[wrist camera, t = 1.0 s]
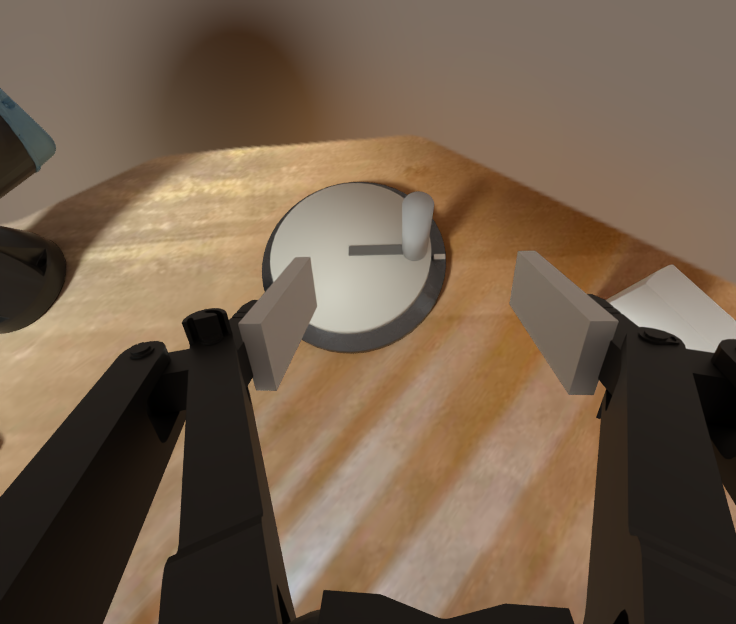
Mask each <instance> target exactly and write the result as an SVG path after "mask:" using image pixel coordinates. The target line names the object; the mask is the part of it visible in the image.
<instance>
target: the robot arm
mask: <svg viewBox="0 0 736 624" xmlns="http://www.w3.org/2000/svg"><path fill="white" fill-rule="evenodd" d="M55 151H56V145H55V143H54V141H53V139H52V138H51V137H50V135H48V133H47V132H46V131H45V130H44V129H42V127H40V126H39V124H37V123H36V122H35V121H34V120H33V119H32V118H31V117H30V116H29V115H28V114H27V113H26V112H25V111H24V110H23V109H22V108H21V107H20V106H19V105H18V104H16V103H15V102H14V101H13V100H12V99H11V98H10V97H9V96H8V95H7V94H6V93H5V92H4V91H3V90H2V89H1V88H0V198H2V197H3V196H5V195H6V194H7V193H8V192H10V191H11V190H13V189H14V188H15V187H17V186H18V185H19V184H21V183H22V182H23V181H25V180H26V179H27V178H29V177H30V176H31V175H33V174H34V173H36V172H38V171H39V170H40V169H41V166H42V165H43V164H44V163H45V162H46V161H47V160H49V159H50V158H51V157H52V156H53V155H54V154H55ZM65 273H66V263H65V258H64V255H63V253H62V251H61V250H60V248H59V247H58V246H57V245H56V244H54V243H53V242H51V241H49V240H47V239H45V238H43V237H41V236H39V235H37V234H35V233H32V232H28V231H23V230H18V229H13V228H8V227H3V226H0V334H2V333H9V332H13V331H16V330H19V329H21V328H24V327H25V326H27V325H29V324H31V323H32V322H34V321H35V320H36V319H38V318H39V317H40V316H41V315H42V314H44V313H45V312H46V311H47V309H48V308H49V307H50V306H51V305H52V303H53V302H54V301H55V299H56V298H57V296H58V294H59V292H60V290H61V288H62V285H63V282H64V279H65ZM510 306H511V307H512V309H513V310H514V312H515V313H516V315H517V316H518V318H519V319H520V321H521V322H522V324H523V326H524V327H525V329H526V330H527V332H528V333H529V335H530V336H531V338H532V339H533V341H534V342H535V344H536V345H537V347H538V348H539V350H540V351H541V353H542V355H543V356H544V358H545V359H546V361H547V362H548V364H549V365H550V367H551V368H552V370H553V371H554V373H555V374H556V376H557V377H558V379H559V380H560V382H561V384H562V385H563V387H564V388H565V390H566V391H567V393H568V394H569V395H594V392H595V390H596V387H597V384H598V381H599V380H600V382H601V383H602V384H603V385H604V387H605V388H606V391H605V394H604V397H603V400H602V403H601V405H600V408H599V411H598V414H597V417H596V418H598V419H601V425H600V438H599V450H598V463H597V475H596V488H595V500H594V513H593V525H592V538H591V550H590V563H589V575H588V588H587V600H586V610H585V617H584V622H583V624H736V532H735V528H734V525H733V521H732V517H731V514H730V510H729V506H728V503H727V499H726V495H725V491H724V488H723V485H724V487H725V488H726V490H727V492H728V493H729V495H730V496H731V498H732V500H733V501H734V503H735V505H736V339H726V340H722V341H721V342H720V343H719V345H718V347H717V349H716V351H715V353H712V352H705V351H699V350H692V349H686V347H685V344H684V343H683V341H682V340H681V339H679V338H678V337H676V336H675V335H673V334H670V333H668V332H665V331H662V330H659V329H655V328H648V327H639V326H637V325H636V324H635V323H634V322H632V321H631V320H630V319H628V318H627V317H626V316H625V315H623V314H621V312H620V311H618V310H617V309H616V308H614V307H613V306H612V305H611V304H610V303H608V302H607V301H606V300H604V299H602V298H600V297H597V296H595V295H593V294H586V293H585V292H584V291H582V290H581V289H580V288H579V287H578V286H576V285H575V284H574V283H573V282H572V281H571V280H569V279H568V278H567V277H566V276H565V275H563V274H562V273H561V272H560V271H559V270H558V269H556V268H555V267H554V266H553V265H552V264H550V263H549V262H548V261H547V260H546V259H544V258H543V257H542V256H541V255H540V254H539V253H537V252H536V251H518V254H517V260H516V266H515V273H514V279H513V285H512V291H511V298H510ZM316 308H317V301H316V294H315V287H314V280H313V273H312V265H311V258H310V257H295V258H294V259H293V260H292V262H291V263H290V264H289V265H288V266H287V267H286V268H285V270H284V271H283V272H282V273H281V274H280V275H279V277H278V278H277V279H276V280H275V281H274V282H273V284H272V285H271V286H270V287H269V288H268V289H267V291H266V292H265V293H264V294H263V295H262V296H261V298H260V299H259V300H251V301H250V302H248V303H246V304H244V305H243V306H242V307H241V308H240V309H239V310H238V311H237V313H235V314H234V315H233V316H232V318H231V319H230V320H228V316H227V313H226V311H225V310H223V309H220V308H211V309H204V310H201V311H197V312H195V313H193V314H191V315H189V316H187V317H186V318H185V319H184V320H183V322H182V325H183V327H184V330H185V333H186V336H187V338H188V341H189V344H190V349H186V350H180V351H175V352H169V353H168V351H167V349H166V346H165V344H164V343H163V342H159V341H150V342H145V343H144V342H142V343H139V344H138V345H137V344H136V345H134V346H132V347H131V348H129V349H127V350H125V351H124V352H123V353H122V354H120V355H119V356H118V358H117V359H116V360H115V361H114V362H113V364H112V365H111V366H110V367H109V368H108V370H107V371H106V372H105V373H104V374H103V375H102V377H101V378H100V379H99V380H98V381H97V383H96V384H95V385H94V386H93V387H92V389H91V390H90V391H89V392H88V393H87V395H86V396H85V397H84V398H83V399H82V400H81V402H80V403H79V404H78V405H77V406H76V408H75V409H74V410H73V411H72V412H71V414H70V415H69V416H68V417H67V418H66V420H65V421H64V422H63V423H62V424H61V425H60V427H59V428H58V429H57V430H56V431H55V433H54V434H53V435H52V436H51V437H50V439H49V440H48V441H47V442H46V443H45V445H44V446H43V447H42V448H41V449H40V450H39V452H38V453H37V454H36V455H35V456H34V458H33V459H32V460H31V461H30V462H29V464H28V465H27V466H26V467H25V468H24V470H23V471H22V472H21V473H20V474H19V475H18V477H17V478H16V479H15V480H14V481H13V483H12V484H11V485H10V486H9V487H8V489H7V490H6V491H5V492H4V493H3V495H2V496H1V497H0V624H103V622H104V619H105V617H106V615H107V612H108V610H109V607H110V605H111V602H112V600H113V597H114V595H115V592H116V590H117V587H118V585H119V583H120V580H121V578H122V575H123V573H124V570H125V568H126V565H127V563H128V560H129V558H130V555H131V553H132V550H133V548H134V546H135V543H136V541H137V538H138V536H139V533H140V531H141V528H142V526H143V523H144V521H145V518H146V516H147V514H148V511H149V509H150V506H151V504H152V501H153V499H154V496H155V494H156V491H157V489H158V486H159V484H160V482H161V479H162V477H163V474H164V472H165V469H166V467H167V464H168V462H169V459H170V457H171V454H172V452H173V450H174V447H175V445H176V442H177V440H178V437H179V435H180V432H181V430H182V427H183V425H184V422H185V420H186V425H185V442H184V460H183V478H182V496H181V514H180V532H179V546H178V551H177V553H176V554H175V555H173V556H171V557H169V558H168V560H167V562H166V564H165V567H164V573H163V579H162V589H161V600H160V611H159V622H158V624H574V621H573V619H572V616H571V613H570V610H569V608H557V607H544V606H530V605H517V604H502V605H498V606H495V607H491V608H487V609H483V610H480V611H476V612H472V613H468V614H465V615H461V616H457V617H453V618H449V619H441V618H438V617H435V616H433V615H430V614H428V613H425V612H423V611H420V610H418V609H415V608H413V607H410V606H408V605H406V604H403V603H401V602H398V601H396V600H393V599H391V598H388V597H386V596H383V595H381V594H370V593H357V592H343V591H330V590H324V591H323V596H322V602H321V608H320V610H316V611H312V612H310V613H307V614H305V615H303V616H300V617H298V618H296V615H295V612H294V608H293V604H292V600H291V596H290V591H289V587H288V582H287V577H286V572H285V567H284V562H283V557H282V552H281V547H280V542H279V537H278V532H277V527H276V522H275V517H274V512H273V507H272V502H271V497H270V492H269V487H268V482H267V477H266V472H265V467H264V462H263V457H262V452H261V447H260V442H259V437H258V432H257V427H256V422H255V417H254V412H253V407H252V402H251V397H250V393H249V389H248V384H249V383H250V381H251V379H252V378H253V381H254V384H255V388H256V390H270V391H277V389H278V387H279V385H280V383H281V381H282V379H283V377H284V375H285V373H286V370H287V368H288V366H289V364H290V362H291V360H292V358H293V356H294V354H295V352H296V350H297V348H298V346H299V343H300V341H301V339H302V337H303V335H304V333H305V331H306V329H307V327H308V325H309V323H310V321H311V319H312V316H313V314H314V312H315V310H316ZM722 483H723V484H722Z"/></svg>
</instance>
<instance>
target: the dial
mask: <svg viewBox="0 0 736 624" xmlns="http://www.w3.org/2000/svg"><path fill="white" fill-rule="evenodd" d="M433 210H434V201H433V199H432V197H431V196H430V195H428V194H427V193H424V192H413V193H410V194H408V195H407V196H406V197H405V198H403V197H401V196H400V195H398V194H397V193H395V192H393V191H391V190H388V189H386V188H383V187H380V186H376V185H372V184H364V183H348V184H340V185H336V186H331V187H328V188H325V189H323V190H320V191H318V192H316V193H314V194H312V195H311V196H309V197H307V198H306V199H304V200H303V201H302V202H300V203H299V204H298V205H297V206H296V207H295V208H294V209H292V210H291V211H290V213H289V214H288V215H287V216H286V218H285V219H284V220H283V222H282V223H281V225H280V227H279V229H278V231H277V233H276V235H275V238H274V241H273V244H272V249H271V255H270V267H271V274H272V279H273V282H274V281H275V280H276V279H277V278H278V277H279V275H280V274H281V273H282V272H283V271H284V270H285V268H286V267H287V266H288V265H289V264H290V263H291V262H292V260H293V259H294V258H295V257H310V258H311V265H312V273H313V280H314V287H315V294H316V301H317V308H316V310H315V312H314V314H313V316H312V319H311V321H310V323H309V324H310V325H312V326H314V327H316V328H318V329H321V330H324V331H327V332H331V333H336V334H360V333H365V332H370V331H373V330H376V329H379V328H382V327H384V326H386V325H388V324H390V323H392V322H393V321H395V320H396V319H398V318H399V317H400V316H402V315H403V314H404V313H405V312H406V311H407V310H408V309H409V308H410V307H411V306H412V305H413V304H414V303H415V301H416V300H417V298H418V297H419V295H420V294H421V292H422V290H423V288H424V286H425V283H426V280H427V277H428V273H429V267H430V262H431V242H430V237H429V235H430V229H431V222H432V216H433Z"/></svg>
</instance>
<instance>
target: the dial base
mask: <svg viewBox="0 0 736 624" xmlns="http://www.w3.org/2000/svg"><path fill="white" fill-rule="evenodd" d="M349 183H364V184H372V185H376V186H380V187H383V188H386V189H388V190H391V191H393V192H395V193H397V194H398V195H400V196H401V197H403V198H405V197H406V196H407V194H405V193H403V192H401V191H399V190H397V189H395V188H392V187H389V186H386V185H382V184H377V183H369V182H349ZM342 184H348V183H342ZM337 185H340V184H337ZM333 186H336V185H333ZM329 187H331V186H329ZM327 188H328V187H327ZM324 189H325V188H324ZM321 190H323V189H321ZM319 191H320V190H319ZM317 192H318V191H317ZM315 193H316V192H315ZM313 194H314V193H313ZM311 195H312V194H311ZM311 195H309V196H311ZM309 196H307V197H309ZM307 197H306V198H307ZM306 198H304V199H306ZM304 199H302V200H301V201H299V202H298V203H297V204H296V205H295V206H293V207H292V208H291V209H290V210H289V211H288V212H287V213H286V214H285V215H284V216H283V217H282V219H281V220H280V221H279V223H278V224H277V225H276V227H275V229H274V230H273V232H272V234H271V236H270V238H269V240H268V243H267V246H266V249H265V252H264V257H263V263H262V279H263V287H264V290H265V292H266V291H267V289H268V288H269V287H270V286H271V285H272V284H273V279H272V274H271V267H270V255H271V249H272V244H273V241H274V238H275V235H276V233H277V231H278V229H279V227H280V225H281V223H282V222H283V220H284V219H285V218H286V216H287V215H288V214H289V213H290V211H291V210H292V209H294V208H295V207H296V206H297V205H298V204H299V203H300V202H302V201H303V200H304ZM429 237H430V242H431V262H430V267H429V273H428V277H427V280H426V283H425V286H424V288H423V290H422V292H421V294H420V295H419V297H418V298H417V300H416V301H415V303H414V304H413V305H412V306H411V307H410V308H409V309H408V310H407V311H406V312H405V313H404V314H403V315H402V316H400V317H399V318H398V319H396V320H395V321H393V322H392V323H390V324H388V325H386V326H384V327H382V328H379V329H376V330H373V331H370V332H365V333H360V334H336V333H331V332H327V331H324V330H321V329H318V328H316V327H314V326H312V325H310V324H309V325H308V327H307V329H306V331H305V333H304V335H303V337H302V340H303V341H305V342H307V343H309V344H311V345H313V346H315V347H317V348H321V349H324V350H327V351H331V352H337V353H353V354H354V353H364V352H369V351H374V350H378V349H381V348H384V347H386V346H389V345H391V344H393V343H395V342H397V341H399V340H401V339H402V338H404V337H405V336H407V335H408V334H410V333H411V332H412V331H413V330H414V329H416V328H417V327H418V326H419V325H420V324H421V323H422V322H423V320H424V319H425V318H426V317H427V316H428V314H429V313H430V311H431V310H432V308H433V306H434V305H435V303H436V301H437V298H438V296H439V294H440V291H441V288H442V284H443V281H444V277H445V269H446V253H445V247H444V242H443V239H442V236H441V233H440V231H439V229H438V227H437V225H436V223H435V221H434V220H433V219H432V222H431V229H430V235H429Z"/></svg>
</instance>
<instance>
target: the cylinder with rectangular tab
mask: <svg viewBox="0 0 736 624" xmlns="http://www.w3.org/2000/svg"><path fill="white" fill-rule="evenodd" d="M606 301H607V302H608V303H610V304H611V305H612V306H613V307H614V308H616V309H617V310H618V311H620V312H621V314H623V315H625V316H626V317H627V318H628V319H630V320H631V321H632V322H634V323H635V324H636V325H637V326H639V327H648V328H655V329H659V330H662V331H665V332H668V333H670V334H673V335H675V336H676V337H678V338H679V339H681V340H682V341H683V343H684V344H685V347H686V349H692V350H699V351H705V352H712V353H715V351H716V349H717V347H718V345H719V343H720V342H721V341H722V340H726V339H736V321H735V320H734V319H733V318H732V317H731V316H730V315H729V314H727V313H726V312H725V311H724V310H723V309H722V308H721V307H720V306H719V305H717V304H716V303H715V302H714V301H713V300H712V299H711V298H710V297H709V296H707V295H706V294H705V293H704V292H703V291H702V290H701V289H700V288H699V287H697V286H696V285H695V284H694V283H693V282H692V281H691V280H690V279H688V278H687V277H686V276H685V275H684V274H683V273H682V272H681V271H680V270H678V269H677V268H676V267H675V266H674V265H673V264H672V265H668V266H666V267H664V268H662V269H660V270H658V271H656V272H655V273H653V274H651V275H649V276H648V277H646V278H644V279H642V280H640V281H639V282H637V283H635V284H633V285H631V286H630V287H628V288H626V289H624V290H623V291H621V292H619V293H617V294H615V295H614V296H612V297H610V298H608V299H606Z"/></svg>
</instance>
